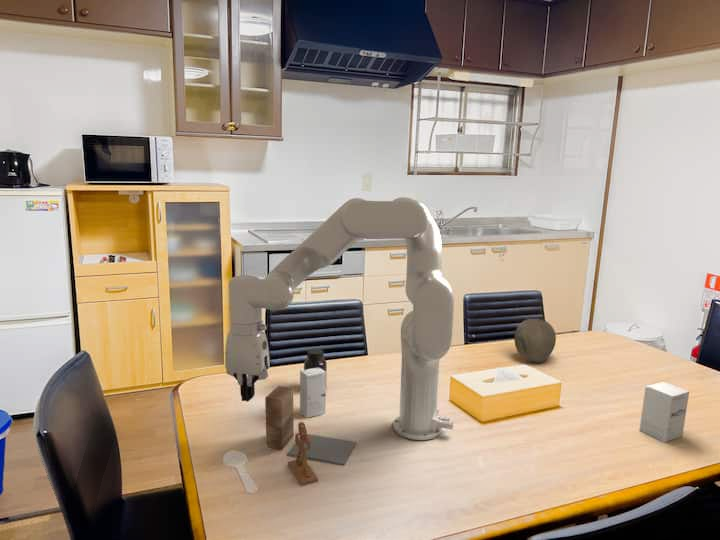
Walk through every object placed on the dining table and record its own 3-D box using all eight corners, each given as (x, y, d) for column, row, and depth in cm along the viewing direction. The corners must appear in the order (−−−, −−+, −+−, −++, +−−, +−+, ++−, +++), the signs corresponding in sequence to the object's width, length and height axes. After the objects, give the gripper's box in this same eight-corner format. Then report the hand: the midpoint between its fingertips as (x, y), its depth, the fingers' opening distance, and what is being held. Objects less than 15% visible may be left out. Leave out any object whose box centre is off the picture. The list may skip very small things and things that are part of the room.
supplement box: (665, 443, 131) (672, 396, 129) (638, 430, 138) (644, 385, 135) (683, 437, 134) (690, 391, 132) (656, 424, 141) (662, 380, 138)
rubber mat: (356, 443, 128) (356, 441, 128) (344, 465, 119) (344, 463, 119) (303, 434, 132) (303, 433, 132) (287, 455, 123) (287, 453, 122)
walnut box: (293, 436, 131) (293, 387, 129) (281, 450, 124) (281, 399, 122) (277, 433, 132) (277, 385, 130) (265, 447, 126) (264, 397, 123)
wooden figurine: (287, 465, 119) (287, 416, 116) (303, 461, 120) (303, 412, 118) (301, 486, 111) (301, 434, 108) (318, 481, 113) (318, 430, 110)
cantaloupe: (560, 368, 179) (564, 326, 177) (518, 367, 180) (522, 325, 177) (546, 353, 193) (549, 314, 190) (507, 352, 193) (511, 313, 191)
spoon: (241, 497, 107) (241, 495, 107) (219, 455, 122) (219, 453, 122) (266, 490, 110) (266, 488, 109) (241, 449, 125) (241, 447, 125)
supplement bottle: (299, 390, 157) (299, 353, 155) (310, 382, 164) (310, 346, 161) (320, 395, 155) (320, 356, 153) (330, 386, 161) (330, 349, 159)
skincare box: (306, 418, 140) (306, 376, 138) (299, 412, 144) (298, 370, 142) (326, 413, 144) (327, 371, 141) (318, 406, 147) (318, 366, 145)
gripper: (281, 326, 127) (282, 396, 130) (226, 320, 131) (228, 388, 134) (267, 335, 119) (268, 410, 123) (209, 328, 123) (212, 401, 127)
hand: (247, 398), depth 129 cm, fingers closed
